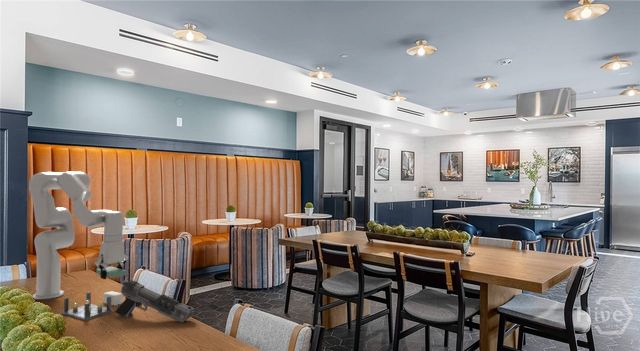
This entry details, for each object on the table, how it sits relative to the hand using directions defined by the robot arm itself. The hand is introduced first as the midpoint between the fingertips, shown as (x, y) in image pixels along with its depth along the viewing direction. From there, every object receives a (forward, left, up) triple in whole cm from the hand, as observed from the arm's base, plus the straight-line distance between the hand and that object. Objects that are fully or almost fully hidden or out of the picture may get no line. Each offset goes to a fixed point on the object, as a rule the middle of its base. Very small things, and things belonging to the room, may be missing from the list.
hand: (111, 276), depth 183 cm
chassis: (+4, -13, -12) cm, 18 cm away
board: (0, 0, +1) cm, 1 cm away
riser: (+1, 0, -12) cm, 12 cm away
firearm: (+34, -4, -13) cm, 37 cm away
